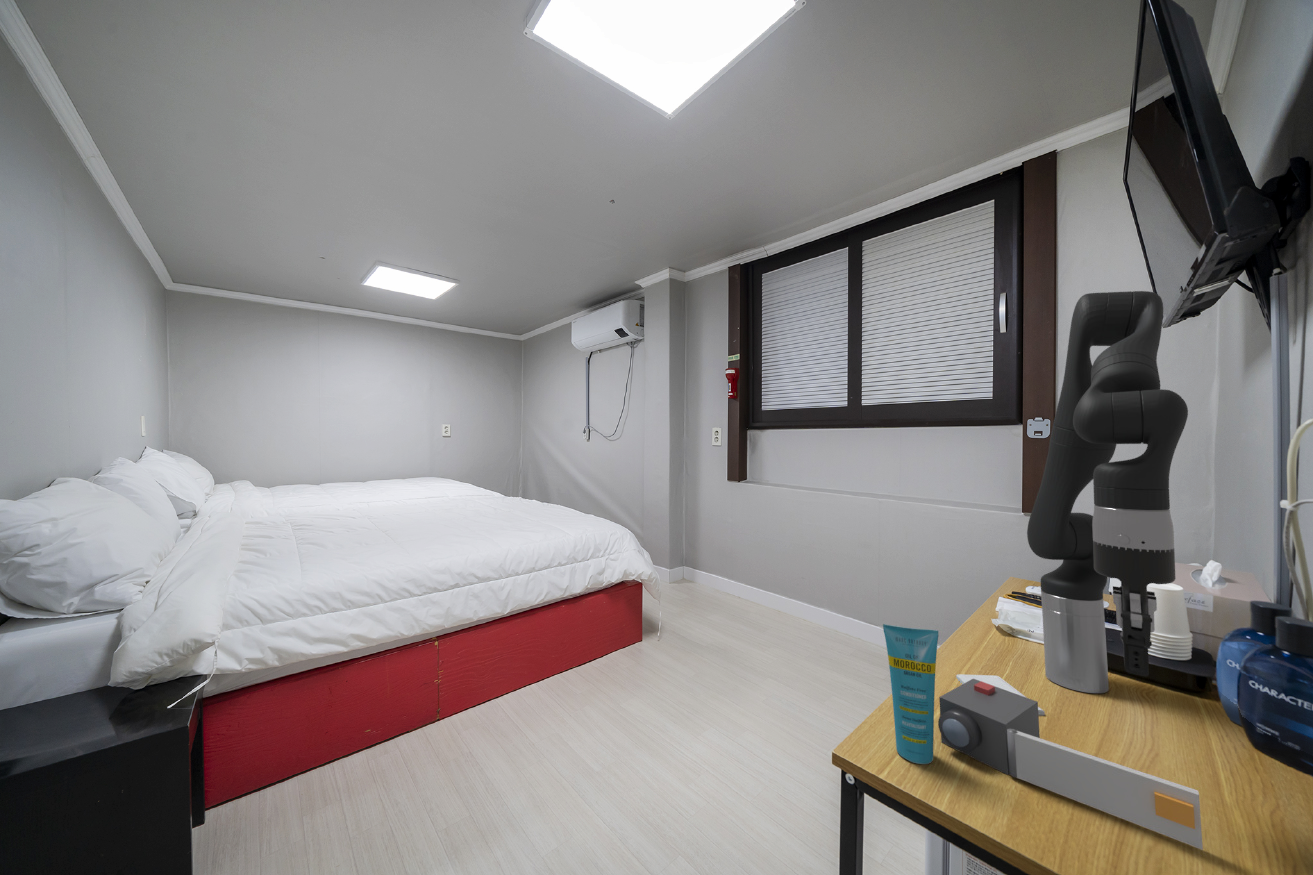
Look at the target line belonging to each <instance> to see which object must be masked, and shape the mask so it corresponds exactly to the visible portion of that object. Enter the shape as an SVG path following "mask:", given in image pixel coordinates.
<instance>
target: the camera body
mask: <svg viewBox="0 0 1313 875" xmlns="http://www.w3.org/2000/svg"><path fill="white" fill-rule="evenodd" d="M1026 697H1027V696H1025V697H1023V696H1020V695H1018V694H1015V693H1012V692H1009V691H1007V690H1004V689H1001V688H998V687H995V686H993V685H990V684H987V683H984V682H982V681H979V680H976V679H971V680H970V681H968V682H966V683H964V684H961V685H958V686H957V687H955V688H954V689H952V690H950V691H948V692H946V693H944V694H942V695H940V696H939V699H938V700H939V718H938V721H937V726H938V730H939V733H940V737H941V738H940V739H941V743H942V744H944V745H947V746H948V747H949V748H952V749H954V750H956V751H958V752H961V753H963V754H964V755H967V756H969V757H971V758H972V759H975V760H977V761H979V762H980V763H983V764H985V765H986V766H989V767H991V768H993V769H995V770H996V771H999V772H1001V773H1003V774H1005V775H1007V776H1009V775H1010V774H1009V758H1008V739H1007V729H1008V728H1011V729H1014V730H1016V731H1019V732H1022V733H1025V734H1028V735H1031V736H1034V737H1038V738H1041V737H1040V736H1041V735H1040V734H1041V733H1040V721H1039V720H1040V718H1039V716H1040V715H1038V707H1039V702H1038V701H1036V700H1034V699H1031V698H1029V697H1027V698H1026Z"/></svg>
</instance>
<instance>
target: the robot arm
mask: <svg viewBox="0 0 1313 875" xmlns="http://www.w3.org/2000/svg"><path fill="white" fill-rule="evenodd" d="M1163 319H1164V303H1163V299H1162V297H1161V296H1160V294H1158V293H1156V292H1154V291H1145V290H1137V291H1136V290H1134V291H1111V292H1110V291H1109V292H1106V291H1105V292H1091V293H1085V294H1083V295H1082V296H1081V297H1079V299H1078V300H1077V302H1076V304H1075V306H1074V309H1073V313H1072V317H1071V322H1070V323H1071V324H1070V329H1069V337H1068V344H1067V352H1066V353H1067V354H1066V360H1065V367H1064V373H1063V374H1064V375H1063V381H1062V387H1061V391H1060V395H1059V399H1058V403H1057V407H1056V411H1055V415H1054V419H1053V423H1052V429H1051V433H1050V439H1049V445H1048V446H1049V447H1048V452H1047V453H1048V454H1047V457H1046V462H1045V465H1044V466H1045V467H1044V469H1043V475H1042V477H1041V478H1042V479H1041V483H1040V487H1039V489H1038V491H1037V495H1036V499H1035V501H1034V504H1033V507H1032V510H1031V513H1030V516H1029V519H1028V522H1027V523H1028V524H1027V530H1026V537H1027V542H1028V546H1029V548H1030V549H1031V551H1032V552H1033V554H1034V555H1036V556H1037V557H1039V558H1041V559H1044V560H1054V561H1055V560H1056V561H1062V563H1061V564H1060V565H1059V566H1058V567H1057V568H1055V569H1054V570H1052V571H1051V572H1048V573H1045V574H1043V575H1042V576H1041V578H1040V594H1041V595H1040V597H1041V598H1040V599H1041V612H1042V616H1041V617H1042V630H1043V633H1042V634H1043V650H1044V652H1043V653H1044V667H1045V668H1044V669H1045V677H1046V678H1047V679H1048V680H1049V681H1050V682H1053V683H1054V684H1057V685H1059V686H1061V687H1064V688H1066V689H1070V690H1073V691H1077V692H1082V693H1088V694H1104V693H1107V692H1108V691H1109V688H1110V687H1109V672H1108V655H1107V654H1108V652H1107V637H1106V623H1105V622H1106V621H1105V620H1106V619H1105V618H1106V617H1105V608H1104V606H1105V605H1104V590H1105V588H1106V585H1107V584H1108V578H1109V579H1116V580H1119V581H1120V586H1113V585H1112V599H1113V600H1112V601H1113V604H1114V605H1115V614H1116V615H1115V616H1116V618H1115V619H1116V625H1117V626H1119V628H1120V629H1121V632H1120V640H1121V641H1122V644H1123V662H1124V670H1125V672H1126V673H1129V674H1132V675H1137V676H1141V677H1148V676H1149V675H1150V666H1149V665H1150V664H1149V650H1150V649H1151V647H1152V645H1153V644H1152V641H1151V635H1152V634H1151V633H1154V632H1155V629H1156V628H1155V612H1156V611H1157V610H1158V607H1157V605H1158V601H1157V596H1156V593H1155V591H1149V590H1148V585H1150V584H1155V585H1166V584H1167V585H1168V584H1172V583H1173V582H1175V581H1176V559H1175V558H1176V557H1175V534H1174V533H1175V531H1174V525H1173V520H1172V515H1171V509H1170V508H1171V507H1170V500H1171V499H1170V471H1171V465H1172V461H1173V458H1174V454H1175V452H1176V449H1177V446H1178V443H1179V441H1180V438H1181V436H1182V435H1183V431H1184V429H1185V426H1186V424H1187V420H1188V415H1189V410H1188V405H1187V402H1185V400H1184V398H1182V396H1181V395H1179V394H1178V393H1177V392H1175V391H1173V390H1169V389H1161V380H1160V379H1161V378H1160V374H1159V373H1160V372H1159V368H1158V363H1157V359H1158V358H1157V356H1158V351H1159V347H1160V341H1161V336H1162V327H1163ZM1091 347H1107V348H1105V349H1104V350H1103V351H1102V352H1101V353H1100V354H1099V355H1098V356H1097V357H1096V358H1095V359H1094V361H1093V363H1092V358H1091ZM1141 444H1142V445H1147V446H1146V449H1145V451H1143V453H1142V454H1141V455H1139V456H1137V457H1135V458H1130V459H1123V460H1119V461H1118V460H1117V461H1111V460H1112V458H1113V456H1114V454H1115V452H1116V448H1117V445H1141ZM1110 461H1111V462H1110ZM1092 481H1093V482H1092ZM1091 482H1092V483H1093V485H1092V486H1093V504H1094V505H1093V514H1089V513H1085V512H1072V511H1073V508H1074V505H1075V503H1076V500H1077V499H1078V497H1079V496H1080V494H1081V492H1082V491H1083V490H1084V489H1085V488H1086V487H1087V486H1088V485H1089V484H1090V483H1091Z"/></svg>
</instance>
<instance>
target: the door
mask: <svg viewBox="0 0 1313 875" xmlns="http://www.w3.org/2000/svg"><path fill="white" fill-rule="evenodd" d="M1007 739H1008V758H1009V775H1010V776H1011V777H1013V778H1016V779H1019V780H1022V781H1025V782H1027V783H1030V784H1031V785H1034V786H1037V787H1040V788H1041V789H1045V790H1048V791H1050V792H1052V793H1055V794H1058V795H1061V796H1063V797H1065V798H1068V799H1071V800H1074V801H1076V802H1078V803H1081V804H1084V805H1087V806H1088V807H1092V808H1094V809H1097V810H1099V811H1102V812H1104V813H1107V814H1109V815H1111V816H1114V817H1117V818H1119V819H1123V820H1124V821H1128V822H1129V823H1131V824H1132V823H1133V824H1135V825H1138V826H1140V827H1143V828H1145V829H1147V830H1150V831H1153V832H1155V833H1158V834H1160V835H1164V836H1166V837H1168V838H1171V839H1173V840H1176V841H1179V842H1181V843H1183V844H1187V845H1189V846H1192V847H1194V848H1197V849H1199V850H1201V851H1203V850H1204V846H1203V835H1202V833H1203V832H1202V821H1201V820H1202V818H1201V806H1200V805H1201V804H1200V793H1199V790H1197V789H1194V788H1192V787H1188V786H1186V785H1182V784H1179V783H1177V782H1173V781H1171V780H1168V779H1164V778H1161V777H1159V776H1155V775H1153V774H1149V773H1145V772H1143V771H1140V770H1137V769H1134V768H1131V767H1128V766H1124V765H1122V764H1119V763H1116V762H1113V761H1110V760H1106V759H1104V758H1100V757H1098V756H1094V755H1091V754H1089V753H1086V752H1082V751H1079V750H1076V749H1073V748H1071V747H1068V746H1065V745H1061V744H1060V743H1056V742H1052V741H1050V740H1047V739H1043V738H1041V737H1040V738H1038V737H1034V736H1031V735H1028V734H1025V733H1022V732H1019V731H1016V730H1014V729H1011V728H1008V729H1007Z"/></svg>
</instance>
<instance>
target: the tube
mask: <svg viewBox="0 0 1313 875" xmlns="http://www.w3.org/2000/svg"><path fill="white" fill-rule="evenodd" d="M882 629H883V633H884V638H885V645H886V650H887V659H888V667H889V674H890V684H891V685H890V686H891V694H892V707H893V709H892V710H893V719H894V734H895V747H896V751H897V753H898V755H899V756H901V758H903V759H905V760H907V761H909V762H911V763H914V764H918V765H928V764H930V763H932V762H933V761H934V732H935V731H934V730H935V727H934V726H935V724H934V723H935V693H936V692H935V691H936V690H935V689H936V688H935V687H936V665H937V653H938V652H937V651H938V650H937V649H938V642H939V630H936V629H929V628H928V629H927V628H913V627H906V626H905V627H904V626H897V625H892V624H891V625H890V624H886V623H883V624H882Z"/></svg>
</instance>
